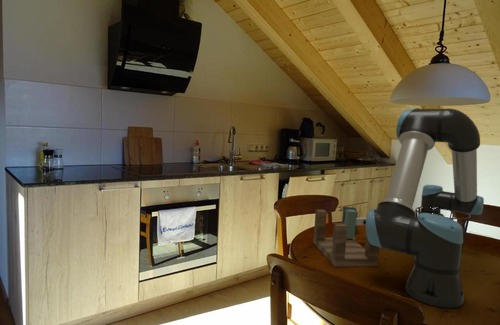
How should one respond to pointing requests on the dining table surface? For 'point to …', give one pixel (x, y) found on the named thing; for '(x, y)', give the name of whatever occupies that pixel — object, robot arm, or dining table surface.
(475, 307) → the dining table surface
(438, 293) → the robot arm
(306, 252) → the dining table surface
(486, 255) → the dining table surface
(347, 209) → the small box
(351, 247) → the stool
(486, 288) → the dining table surface
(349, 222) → the green rectangular block
